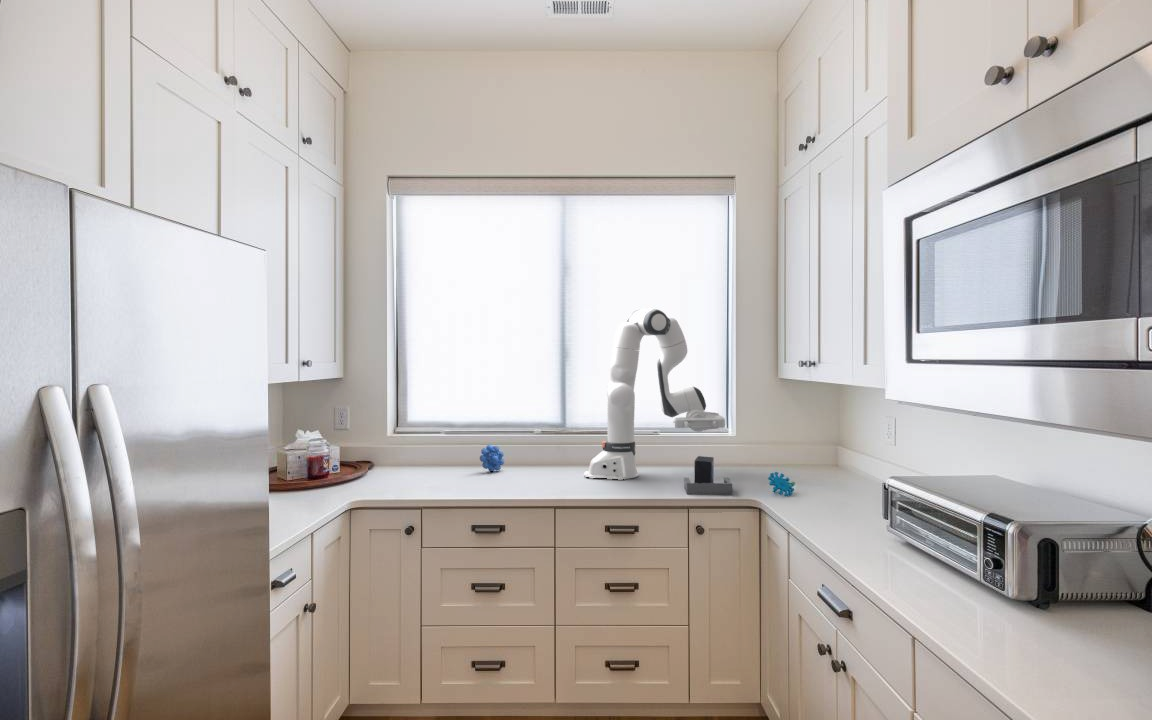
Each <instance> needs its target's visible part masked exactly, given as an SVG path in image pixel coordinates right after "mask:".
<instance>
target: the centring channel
mask: <svg viewBox="0 0 1152 720" xmlns="http://www.w3.org/2000/svg"><path fill="white" fill-rule="evenodd" d="M683 480H684V481H683V482H684V483H683V484H684V486H683V487H684V490H685V493H686V495H698V496H699V495H700V496H701V495H702V496H703V495H704V496H705V495H709V496H710V495H711V496H712V495H713V496H714V495H715V496H733V483H732V481H731V480H730V478H728V477H723V482H713V483H694V482H691V480H690V478H689V477H683Z"/></svg>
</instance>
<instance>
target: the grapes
mask: <svg viewBox="0 0 1152 720" xmlns="http://www.w3.org/2000/svg"><path fill="white" fill-rule="evenodd" d="M504 455H505V454H504V452H503V451H501V450H500V447H499V446H498V445H491V444H487V445H486V448H485V447H484V448H481V455H480V456H479V460H480V462H482V468H483V469H484V470H485V469H487V470H488V471H489V472H490V471H494V472H495V471H497V470H499V471H500V470H501V468H502V467H501V466H503V465H504V464H505V460H504V459H503V457H504Z"/></svg>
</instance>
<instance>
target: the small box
mask: <svg viewBox="0 0 1152 720" xmlns="http://www.w3.org/2000/svg"><path fill="white" fill-rule="evenodd" d="M714 462H715V461H714V457H713V456H702V455H698V456H697V457H696V458H695V460H694V473H693V474H694V478H693V479H694V481H693V483H714V481H715V480H714V477H715V475H714V474H715V473H714V470H715V469H714V467H715V463H714Z"/></svg>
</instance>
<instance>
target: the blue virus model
mask: <svg viewBox="0 0 1152 720" xmlns="http://www.w3.org/2000/svg"><path fill="white" fill-rule="evenodd" d="M778 475H779V476H778ZM784 477H785V474H784V473H780V474H779V472H778V471H774V472H771V473H769V476H768V477H767V480H769V482H768V484H769V486H773V487H772V493H773V492H774V494H775V493H776V492H777V491H778V492H777V494H778V495H780V496H782V495H783V497H786V496H787V497H788V496H793V495H794V493H793V492H794V491H795V488H794V486H795V485H796V483H795V481H792V482H790V481H791V479H790V478H789V477H786V478H784ZM783 492H784V494H783Z"/></svg>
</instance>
